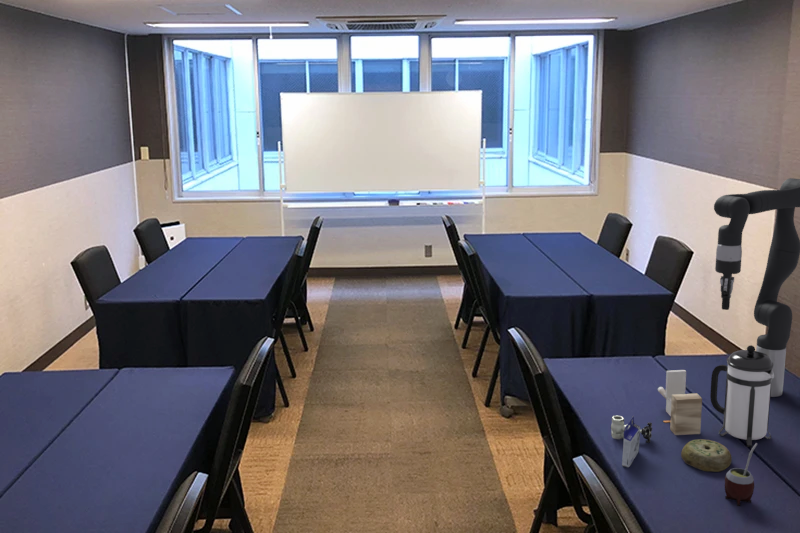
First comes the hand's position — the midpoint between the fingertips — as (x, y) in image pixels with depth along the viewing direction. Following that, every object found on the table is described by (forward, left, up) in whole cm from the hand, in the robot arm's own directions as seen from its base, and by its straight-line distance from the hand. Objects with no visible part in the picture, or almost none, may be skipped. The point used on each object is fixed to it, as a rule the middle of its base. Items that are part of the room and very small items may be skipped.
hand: (725, 309), depth 239 cm
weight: (+40, 0, -36) cm, 53 cm away
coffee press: (+19, +8, -35) cm, 41 cm away
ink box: (+47, -20, -35) cm, 62 cm away
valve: (+34, -23, -35) cm, 54 cm away
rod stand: (+15, -13, -35) cm, 40 cm away
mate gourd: (+58, +10, -35) cm, 69 cm away
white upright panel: (+16, -12, -32) cm, 38 cm away
